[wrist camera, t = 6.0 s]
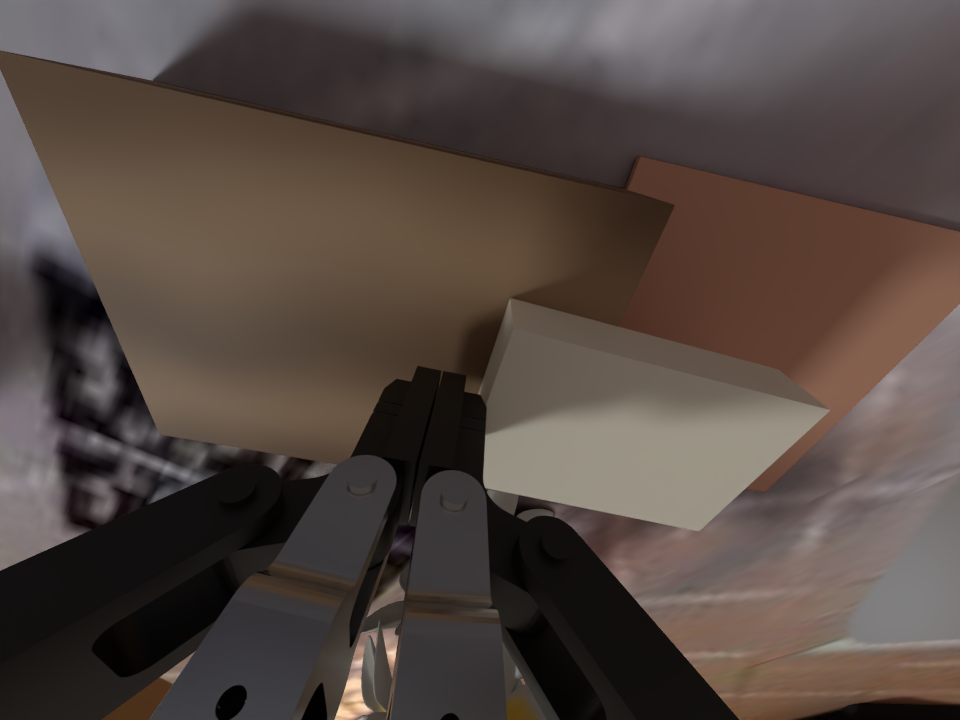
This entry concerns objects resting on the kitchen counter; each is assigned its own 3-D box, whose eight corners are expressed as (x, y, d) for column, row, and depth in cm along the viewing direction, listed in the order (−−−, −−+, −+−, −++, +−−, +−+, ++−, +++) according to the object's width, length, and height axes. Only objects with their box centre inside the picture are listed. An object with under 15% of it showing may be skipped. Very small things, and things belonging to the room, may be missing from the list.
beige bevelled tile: (509, 297, 10) (513, 328, 8) (778, 369, 11) (830, 410, 9) (463, 438, 13) (458, 482, 11) (674, 484, 14) (699, 531, 12)
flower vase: (504, 560, 38) (584, 457, 19) (540, 837, 25) (848, 1263, 7) (383, 570, 36) (346, 465, 17) (359, 878, 23) (146, 1635, 5)
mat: (637, 156, 11) (640, 156, 11) (1008, 243, 12) (1019, 246, 12) (526, 445, 19) (527, 450, 18) (761, 487, 20) (765, 492, 19)
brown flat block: (150, 80, 11) (-9, 49, 7) (625, 189, 12) (674, 204, 8) (226, 378, 17) (159, 434, 14) (531, 433, 18) (538, 498, 15)
